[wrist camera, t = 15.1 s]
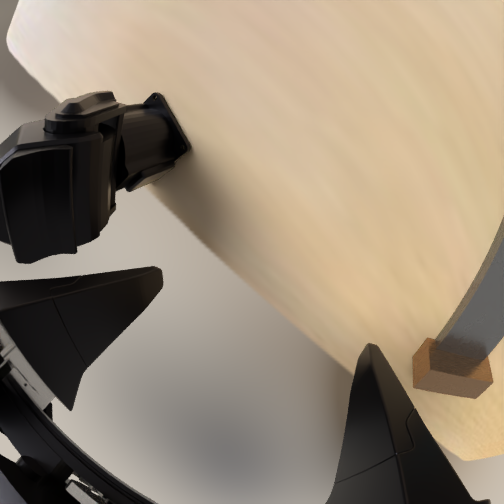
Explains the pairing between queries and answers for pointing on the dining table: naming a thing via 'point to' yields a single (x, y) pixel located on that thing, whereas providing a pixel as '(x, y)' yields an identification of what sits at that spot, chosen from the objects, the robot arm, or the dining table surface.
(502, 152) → the dining table surface
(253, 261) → the dining table surface
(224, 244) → the dining table surface
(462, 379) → the rail
